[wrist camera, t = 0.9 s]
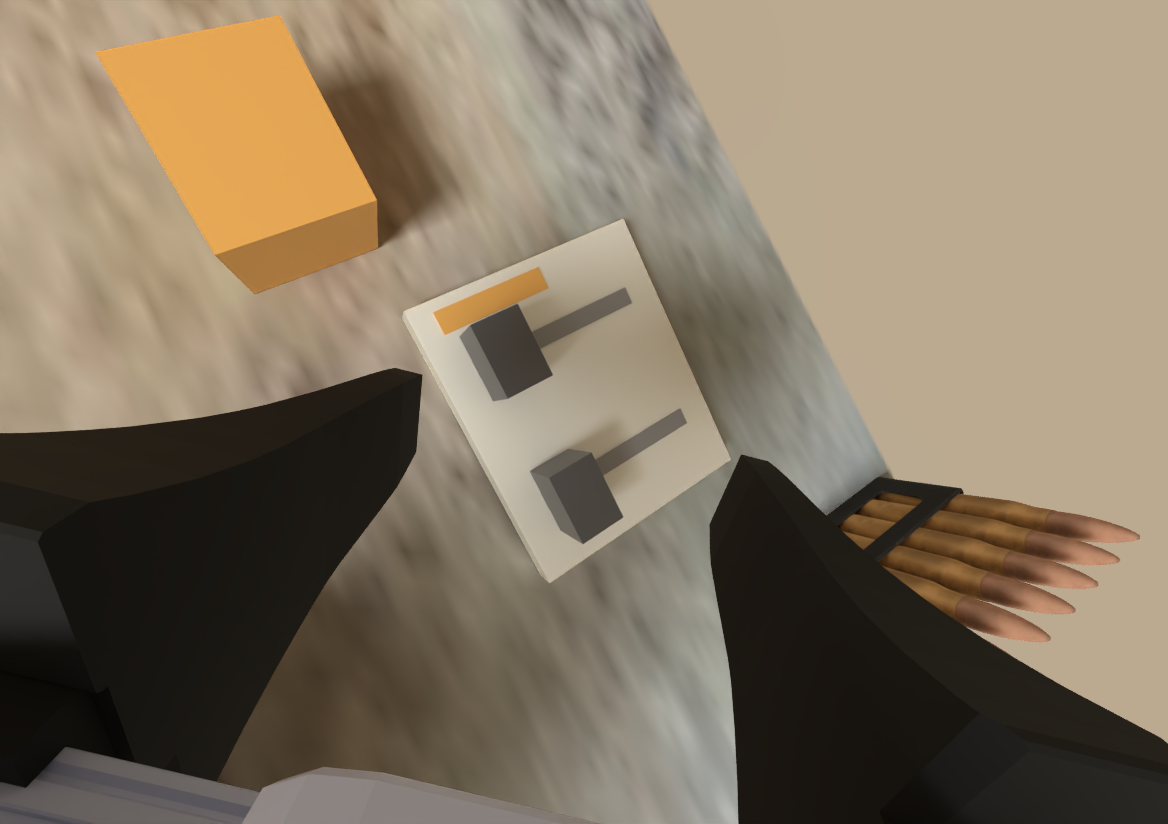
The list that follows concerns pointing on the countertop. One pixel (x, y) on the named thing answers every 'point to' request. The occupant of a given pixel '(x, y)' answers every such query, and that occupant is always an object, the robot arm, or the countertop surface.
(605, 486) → the block
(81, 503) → the robot arm
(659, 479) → the panel
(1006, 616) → the ammunition clip
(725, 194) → the countertop surface
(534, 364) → the block
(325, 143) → the cap
